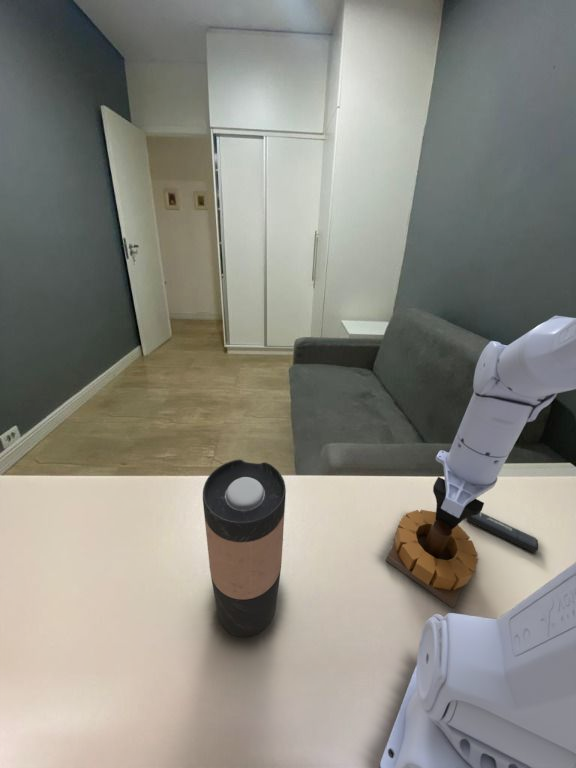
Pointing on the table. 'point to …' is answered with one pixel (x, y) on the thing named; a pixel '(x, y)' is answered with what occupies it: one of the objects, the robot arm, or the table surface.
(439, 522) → the post stand
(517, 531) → the usb stick
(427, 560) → the notched ring
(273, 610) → the travel mug
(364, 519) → the table surface
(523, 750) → the robot arm
